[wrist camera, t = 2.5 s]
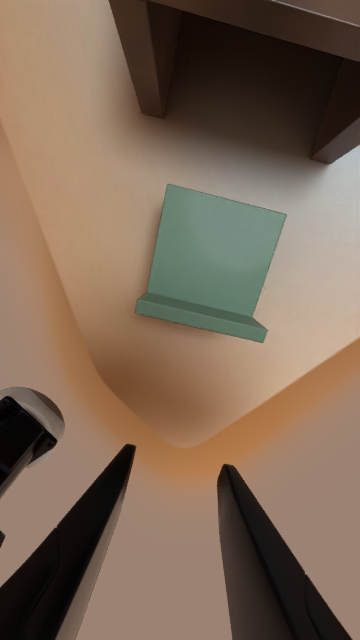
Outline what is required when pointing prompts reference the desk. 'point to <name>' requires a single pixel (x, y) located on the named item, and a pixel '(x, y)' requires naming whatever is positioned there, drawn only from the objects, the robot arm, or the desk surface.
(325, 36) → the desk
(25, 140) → the desk surface
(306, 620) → the robot arm
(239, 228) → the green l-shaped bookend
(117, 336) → the desk surface
